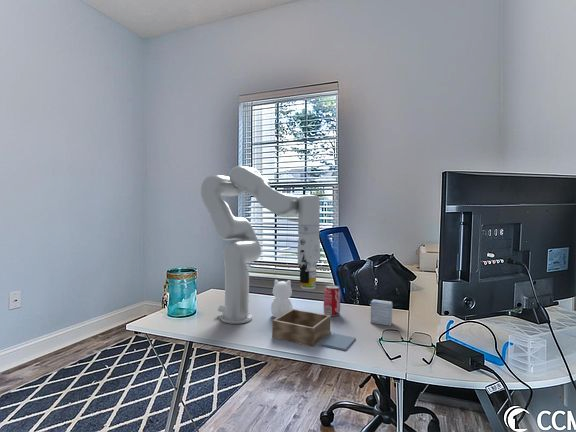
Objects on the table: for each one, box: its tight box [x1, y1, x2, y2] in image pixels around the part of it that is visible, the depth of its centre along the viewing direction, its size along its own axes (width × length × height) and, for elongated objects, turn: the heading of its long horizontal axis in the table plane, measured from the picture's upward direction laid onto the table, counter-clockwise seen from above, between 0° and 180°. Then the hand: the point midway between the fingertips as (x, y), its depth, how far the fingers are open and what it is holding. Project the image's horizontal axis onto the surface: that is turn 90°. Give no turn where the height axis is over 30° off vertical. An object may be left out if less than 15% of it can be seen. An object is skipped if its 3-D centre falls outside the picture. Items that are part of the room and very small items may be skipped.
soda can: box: [323, 284, 341, 317], centre depth 144 cm, size 7×7×12 cm
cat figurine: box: [270, 279, 293, 319], centre depth 140 cm, size 9×12×15 cm
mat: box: [321, 333, 357, 352], centre depth 114 cm, size 8×11×1 cm
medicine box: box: [369, 298, 393, 327], centre depth 135 cm, size 8×4×9 cm, turn 65°
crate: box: [271, 308, 332, 348], centre depth 121 cm, size 16×16×6 cm
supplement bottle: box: [299, 261, 317, 290], centre depth 119 cm, size 5×5×10 cm
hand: (308, 280), depth 119 cm, fingers closed on supplement bottle, 5 cm apart
